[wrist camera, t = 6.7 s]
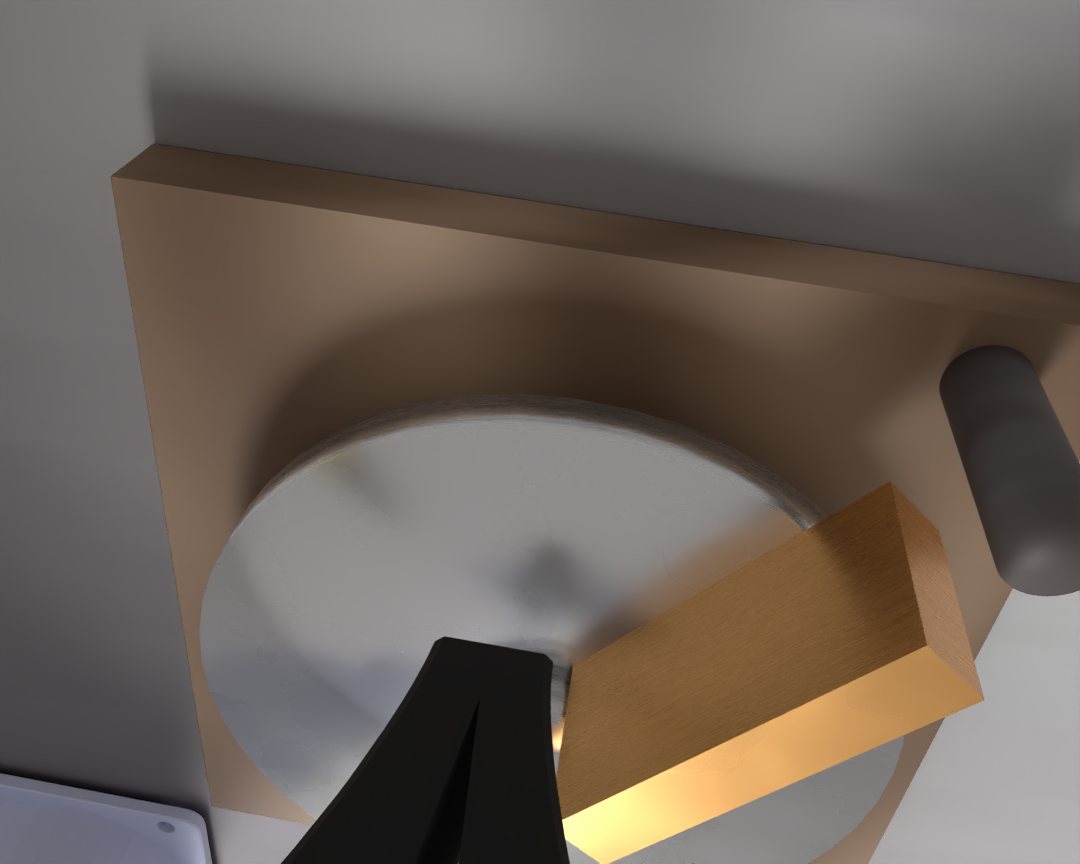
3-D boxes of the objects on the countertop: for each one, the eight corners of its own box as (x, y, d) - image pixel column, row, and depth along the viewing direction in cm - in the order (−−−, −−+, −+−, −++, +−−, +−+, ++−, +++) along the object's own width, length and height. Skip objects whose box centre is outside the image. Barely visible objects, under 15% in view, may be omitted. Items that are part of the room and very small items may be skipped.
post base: (234, 757, 27) (139, 961, 23) (153, 144, 17) (-44, 294, 13) (830, 869, 26) (853, 1104, 22) (1113, 289, 16) (1261, 505, 12)
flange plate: (111, 425, 17) (-35, 596, 14) (931, 356, 14) (995, 553, 11) (335, 862, 25) (273, 1046, 21) (915, 877, 22) (951, 1093, 18)
